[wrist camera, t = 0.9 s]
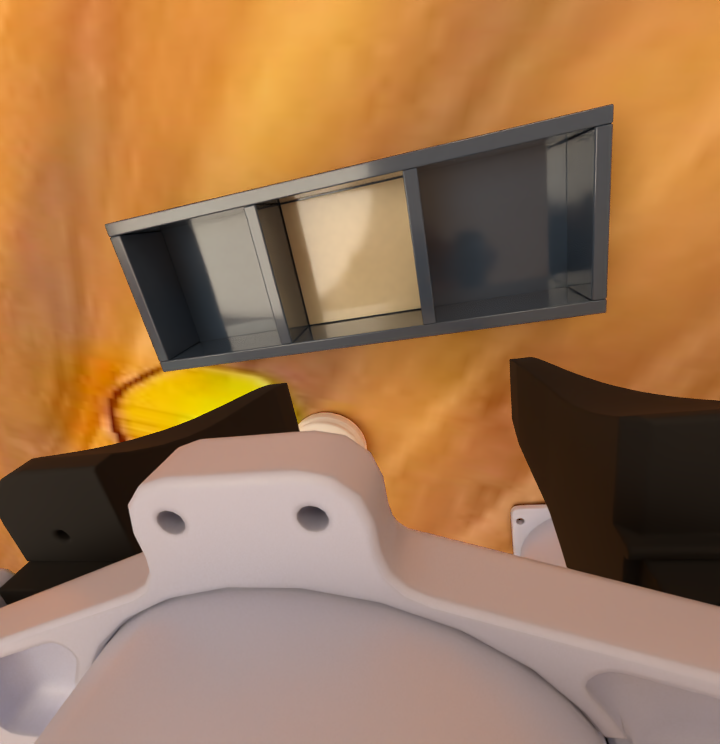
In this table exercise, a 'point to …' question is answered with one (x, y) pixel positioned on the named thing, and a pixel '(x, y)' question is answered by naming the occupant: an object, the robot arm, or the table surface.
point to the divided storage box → (382, 248)
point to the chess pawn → (333, 426)
